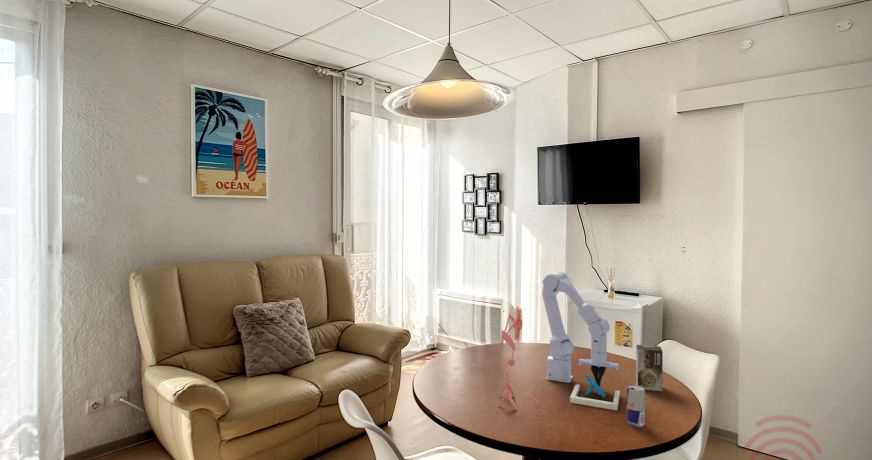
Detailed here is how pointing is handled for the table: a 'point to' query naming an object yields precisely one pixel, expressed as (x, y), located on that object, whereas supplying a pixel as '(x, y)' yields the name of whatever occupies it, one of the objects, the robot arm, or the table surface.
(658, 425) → the table surface
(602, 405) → the bracket
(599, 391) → the gear
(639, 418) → the energy drink
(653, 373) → the coffee box
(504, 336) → the figurine
